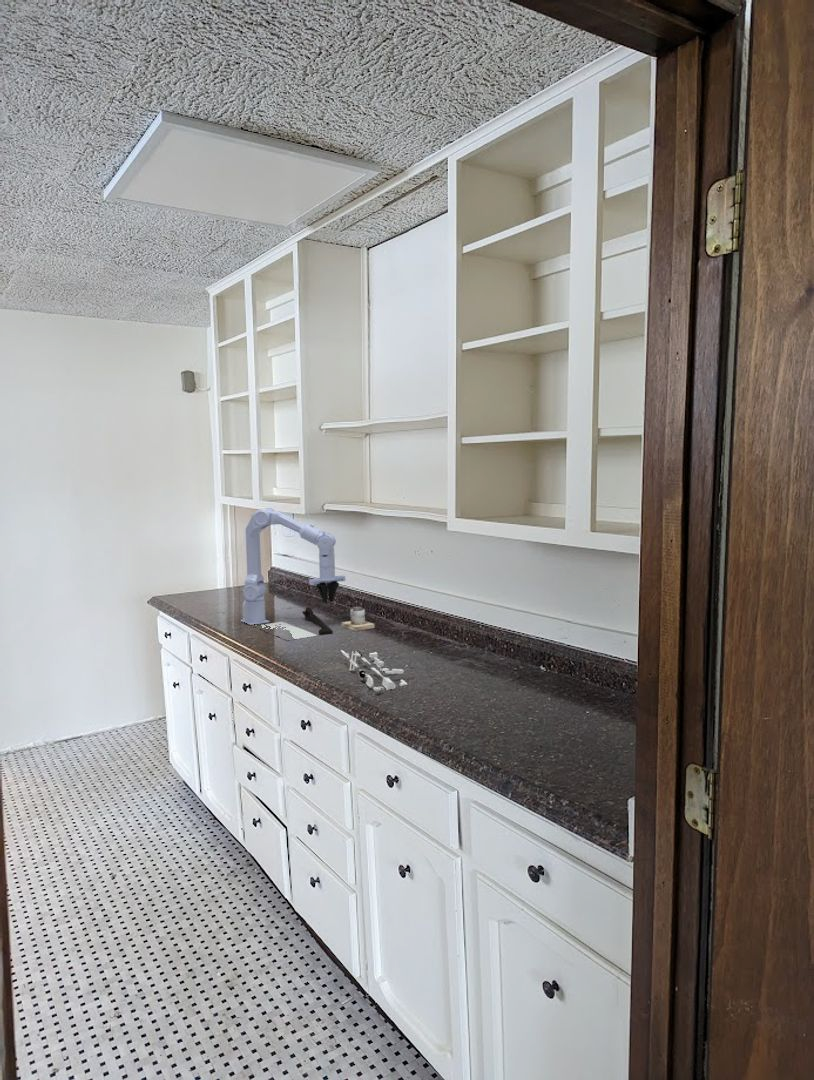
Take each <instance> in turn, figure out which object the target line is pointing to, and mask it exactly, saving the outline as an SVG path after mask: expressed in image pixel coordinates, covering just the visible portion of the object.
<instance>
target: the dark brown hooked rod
mask: <svg viewBox="0 0 814 1080" xmlns="http://www.w3.org/2000/svg"><path fill="white" fill-rule="evenodd" d="M302 615H304V620H305V621H312V622H314V623H315V624H317V625H318V627H320V629H319V630H318V634H319V635H320V636H323V635H324V634H325V635H332V634H333V633H334V632H333V629H331V628H330V627H329V626H328V625H327V624H326V623H325V622H324V621H323V620H321V619H320V618H319V617H318V616H317V615H316V614H315V613H314V611H313V609H312V607H310V606H309V607H306V608H305V610H303V611H302Z"/></svg>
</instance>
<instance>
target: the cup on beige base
mask: <svg viewBox="0 0 814 1080" xmlns="http://www.w3.org/2000/svg"><path fill="white" fill-rule="evenodd" d="M365 611H366V610H365V608H363V607H362V606H353V607H352V608H351V609H350V620H349V621H348V620H347V621H342V622H341V627H343V628H345V629H349V630H350V631H354V632H359V631H365V630H370V629H375V623H373V622H370V621H366V616H365V615H366V614H365Z"/></svg>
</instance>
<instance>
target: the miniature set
mask: <svg viewBox="0 0 814 1080" xmlns="http://www.w3.org/2000/svg"><path fill="white" fill-rule="evenodd" d="M340 651H341V653H342V655H343V656H345V657H346V658H347V659H349V663H350V665H349V670H350V671H353V670H354V671H355V669H357V668H359V665H358V663H356V662H357V657H361V659H362V661H364V662H365V663H367V664H368V665H369V666H371V665H372V664H371V663H370V661H368V659H366V658H365V657H362V656H363V654H362V653H361V652H360V651H359V650H355V653H354V651H353V650H352V651H351V657H350V653H349V652H345V651H344V650H343V649H340ZM368 657H369V658H372V659H374V662H373V664H374V665H376V667H377V668H378V669H379V670H378V669H377V668H375V667H370V669H371V670H372V671H373V672H374V673H376V674H377V675H379V676H380V677H382V684H381V686H374V685H375V684H374V679H373V677H372V676H371V675H369V674H367V673H366V671H365V670H363V669H359V674H358V675H357V676H359V677H360V679H361V680H364V679H365V678H366V682H365V684H366V686H367V687H369V688H370V689H371V688H373V689H372V690H373V691H374V692H380V691H383V690H384V689H385V688H386V689H385V690H386V691H391V690H390V689H392V690H395V689H396V683H395V682H393V681H392V680H391V679H390V677H385V676H383V675H382V674H381V673H383V671H384V673H385V674H389V675H391V674H392V675H395V674H400V675H401V674H404V672H405V671H404V669H402V668H392V669H391V670H390V669H389V668H386V667H384V666H385V662H384V661H383V660H380V658H378V657H379V655H378V652H376V651H374V652H369V655H368ZM352 665H353V668H352ZM349 670H348V671H349ZM380 671H382V672H380ZM382 685H383V686H384V687H385V688H384V687H383V686H382ZM399 686H400V687H403V686H408V683H407V682H406V681H405V680H404V679H400V682H399Z"/></svg>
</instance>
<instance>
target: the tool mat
mask: <svg viewBox="0 0 814 1080" xmlns="http://www.w3.org/2000/svg"><path fill="white" fill-rule="evenodd" d="M264 624H265V625H267V626H270V627H271V628H270V629H273V628H275V627H277V626H281V627H280V628H282V627H286V628H284V629H283V630H285V629H286V630H289V631H290V633H291V634H292V637H293V638H294V639H297V640H300V638H302V639H306V638H307V637H308V638H313V637H317V636H319V635H318V634H316V633H314V632H310V631H308V630H305V629H302V628H300V627H297V626H295V625H291V624H290V623H286V622H284V621H278V622H272V623H270V622H269V623H264ZM264 624H260V625H261V626H262V628H264V627H266V626H265V625H264ZM279 624H281V625H279ZM275 625H277V626H275ZM268 628H269V627H268ZM268 628H266V629H268ZM277 628H278V627H277ZM277 628H276V629H277Z"/></svg>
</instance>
